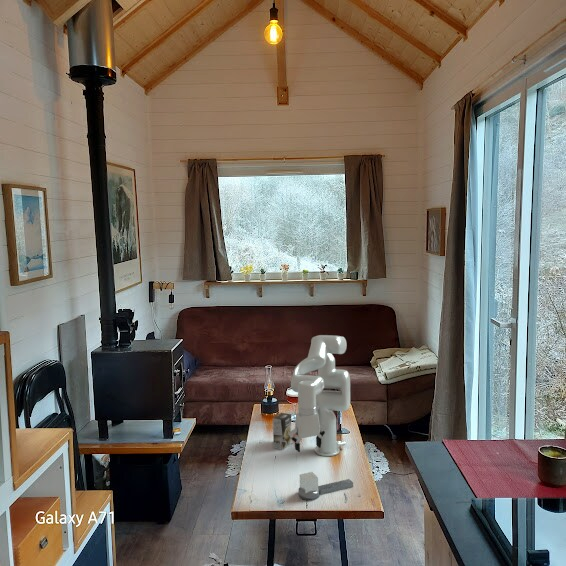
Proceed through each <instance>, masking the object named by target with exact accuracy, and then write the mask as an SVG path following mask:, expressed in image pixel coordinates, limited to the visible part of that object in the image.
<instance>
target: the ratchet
mask: <svg viewBox="0 0 566 566" xmlns="http://www.w3.org/2000/svg"><path fill="white" fill-rule="evenodd" d="M351 488H354V482H353V481H352V479H350V478H347V479H343V480H339V481H334V482H330V483H326V484H321V485H318V491H317V492H313V493H309V494H305V493H304V492H303V491H302V490H301V488H300V486H299V487H298V498H300V499H301V500H303V501H308V500H311V501H315V500H318V499H319V498H320V496H321V495H324V494H329V493H333V492H338V491H341V490H347V489H351Z"/></svg>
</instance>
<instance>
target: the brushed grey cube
mask: <svg viewBox="0 0 566 566" xmlns="http://www.w3.org/2000/svg"><path fill="white" fill-rule="evenodd" d="M318 486H319V477H318V476H317V475H316V474H315V473H314V472H313V471H310V472H306V473H300V474H299V487H300V488H301V490H302V491H303V492H304V493H305V494H309V493H313V492H317V491H318Z"/></svg>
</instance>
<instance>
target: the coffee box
mask: <svg viewBox="0 0 566 566" xmlns="http://www.w3.org/2000/svg"><path fill="white" fill-rule="evenodd" d="M272 428H273V429H272V432H273V433H272V435H273V436H272V437H273V438H272V439H273V442H272V443H273V448H274V449H279V450H282V449H283V451H284V450H285V449H287V446H288V445H289V444H290V445H292V444H291V443H293V440H292V439H291V438H290V436H289V433H290V432H291V431H292V430H293V429H292V413H286V412H279V414H277V415H276V416H274V417H273V418H272ZM290 445H289V446H290ZM289 446H288V447H289Z"/></svg>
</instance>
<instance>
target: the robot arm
mask: <svg viewBox="0 0 566 566" xmlns="http://www.w3.org/2000/svg"><path fill="white" fill-rule="evenodd" d="M310 343H311V344H310V348H309V350H308V355H307V357H306V358H304V359H302V360H301V361H300V362H299V363H298V364H297V365H296V366H295V367H294V370H293V373H292V376H291V379H290V380H291V381H290V388H291V390H292V391H293V392H295V393H297V405H298V406H297V407H298V412H297V413H296V416H295V421H294V429H291V430H292V431H291V432H290V433H289V436H290V438H291V439H292V442H294V450H295V451H297V452H298V453H300V452H301V443H300V441H301V439H306V438H311V437H315V436H316V437H315V442H316V443H315V445H316V447H314V452H315V453H316V454H317V455H319V456H321V457H322V456H323V457H333V456H336V455H337V456H338V454H339V453H340V452H341V451H340V450H341V449H340V447H344V446H346V442H345V441H341V440H337V439H338V438H337V417H336V414H335V411H338V412H339V411H340V412H346V411H349V409H350V407H351V406H350V405H351V376H350V373H349V371H348V370H346V369H339V368H338V369H336V358H335V357H334V355H333V354H336V355H337V354H338V355H343V354H345V353H346V351H347V340H346V338H345V337H344V336H342V335H341V336H340V335H331V334H330V335H328V334H325V335H324V334H319V335H316V336H313V337H312V338H311V341H310ZM314 371H317V375H309V374H308V373H310V372H314ZM305 374H306V375H305ZM307 374H308V375H307ZM324 389H326V390H324ZM327 389H336V390H327ZM337 390H338V391H337ZM294 435H295V436H294Z"/></svg>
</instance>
